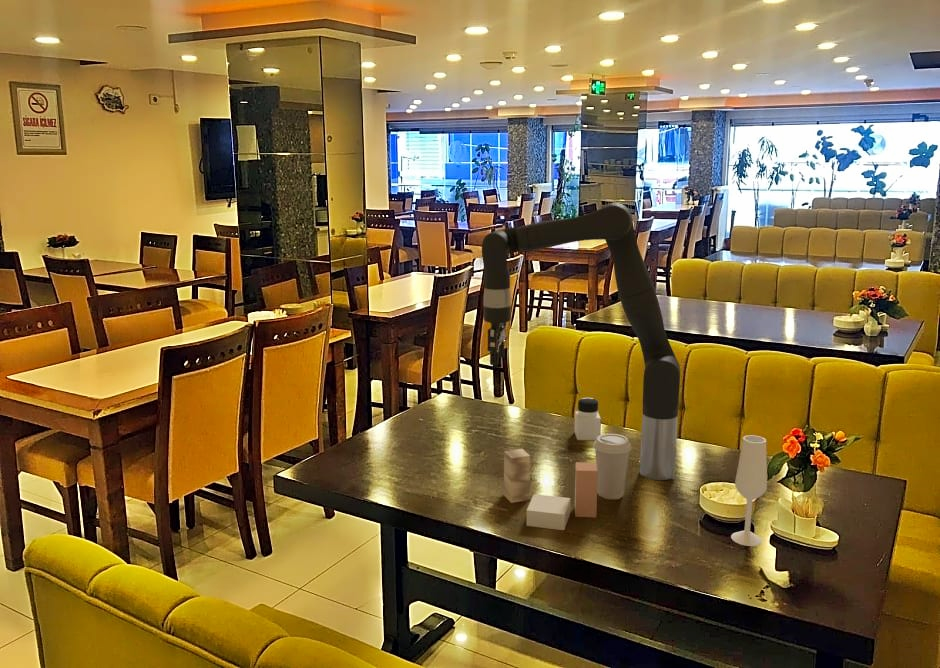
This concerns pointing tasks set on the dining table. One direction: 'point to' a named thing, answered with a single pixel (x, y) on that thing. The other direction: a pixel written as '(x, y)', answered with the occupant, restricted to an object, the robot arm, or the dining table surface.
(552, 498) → the plinth
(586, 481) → the terracotta pillar
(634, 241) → the robot arm
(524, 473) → the maple pillar
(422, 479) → the dining table surface
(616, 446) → the coffee cup
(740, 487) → the champagne flute
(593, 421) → the medicine bottle
